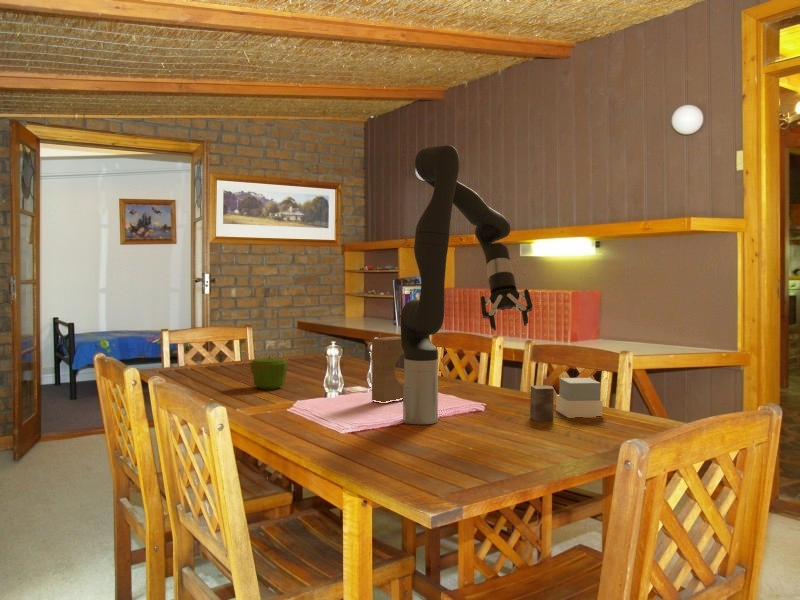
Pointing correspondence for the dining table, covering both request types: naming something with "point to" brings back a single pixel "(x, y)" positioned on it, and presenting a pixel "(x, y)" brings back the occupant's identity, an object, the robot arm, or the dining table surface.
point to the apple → (269, 372)
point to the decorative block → (386, 369)
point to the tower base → (578, 407)
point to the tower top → (580, 389)
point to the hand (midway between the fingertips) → (510, 327)
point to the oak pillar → (541, 403)
